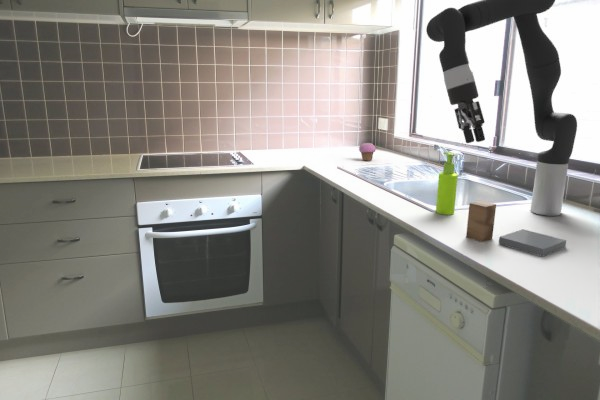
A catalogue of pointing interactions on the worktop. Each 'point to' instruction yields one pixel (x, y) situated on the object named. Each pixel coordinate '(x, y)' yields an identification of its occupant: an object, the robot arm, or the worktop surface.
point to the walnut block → (481, 221)
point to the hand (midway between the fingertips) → (475, 141)
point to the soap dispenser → (447, 187)
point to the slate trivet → (532, 242)
